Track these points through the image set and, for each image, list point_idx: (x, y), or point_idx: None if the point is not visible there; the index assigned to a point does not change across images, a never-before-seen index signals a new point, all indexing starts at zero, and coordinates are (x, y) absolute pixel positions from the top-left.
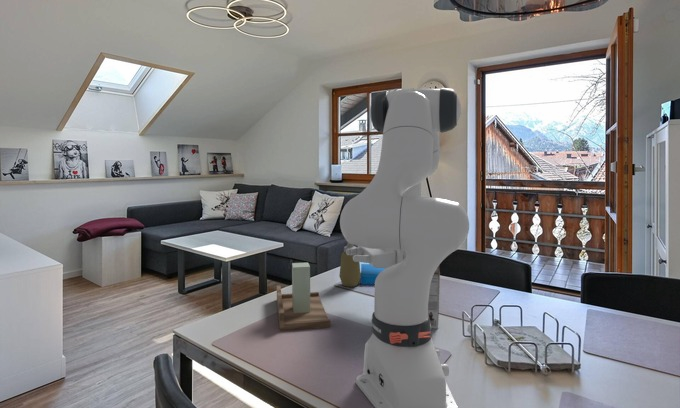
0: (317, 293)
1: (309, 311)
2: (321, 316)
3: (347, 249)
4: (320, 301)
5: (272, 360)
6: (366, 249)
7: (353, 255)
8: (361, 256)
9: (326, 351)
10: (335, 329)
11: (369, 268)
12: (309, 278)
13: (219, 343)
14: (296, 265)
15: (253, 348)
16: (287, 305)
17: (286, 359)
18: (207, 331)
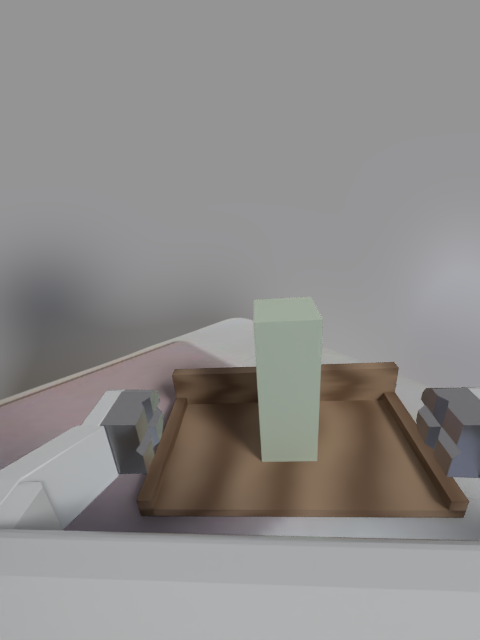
0: (447, 496)
1: (262, 458)
2: (214, 490)
3: (462, 387)
4: (373, 507)
5: (69, 395)
6: (274, 551)
7: (152, 390)
8: (59, 441)
9: None
10: (113, 530)
11: None
12: (256, 363)
13: (174, 346)
14: (278, 303)
15: (131, 375)
16: (323, 412)
17: (53, 411)
18: (223, 334)
